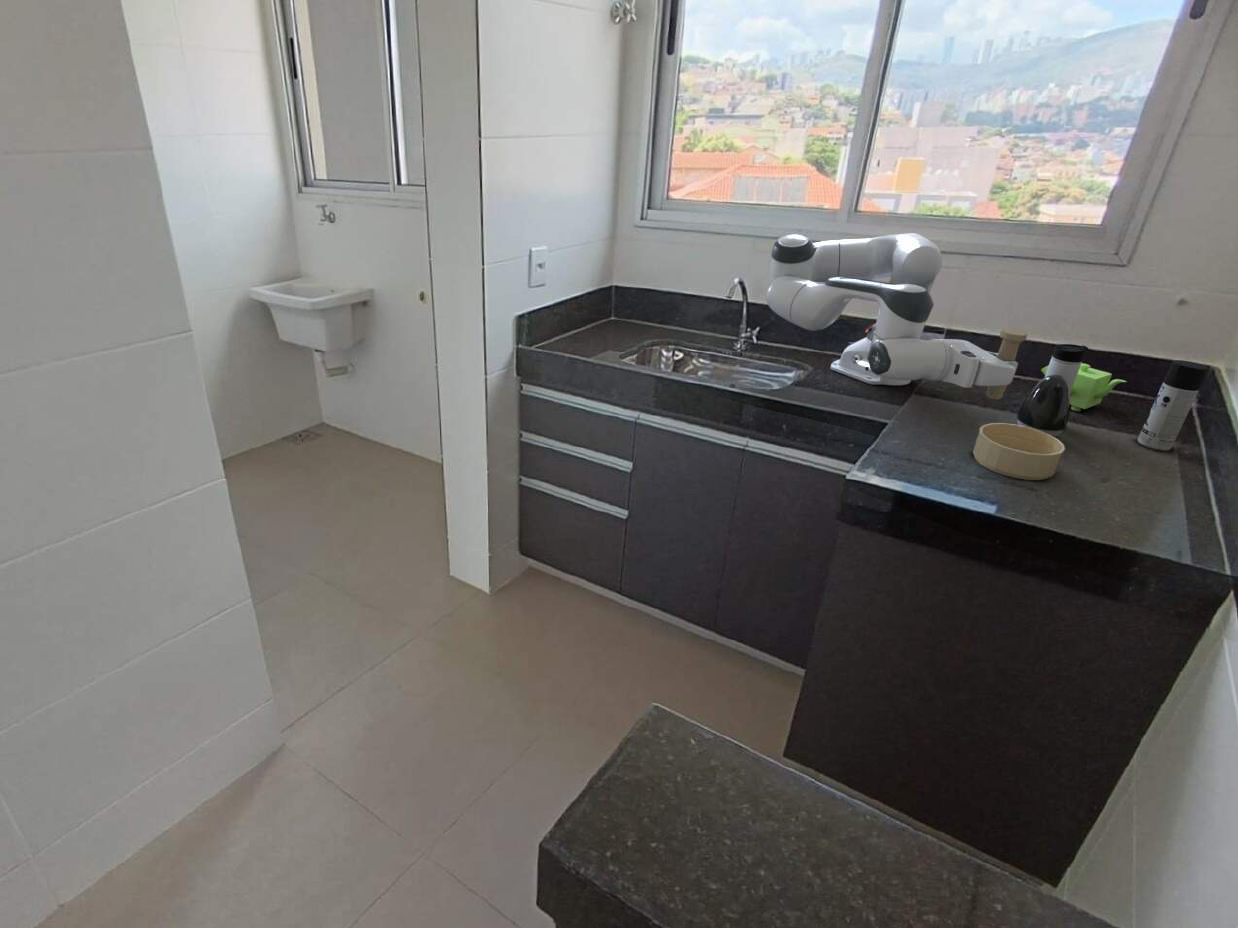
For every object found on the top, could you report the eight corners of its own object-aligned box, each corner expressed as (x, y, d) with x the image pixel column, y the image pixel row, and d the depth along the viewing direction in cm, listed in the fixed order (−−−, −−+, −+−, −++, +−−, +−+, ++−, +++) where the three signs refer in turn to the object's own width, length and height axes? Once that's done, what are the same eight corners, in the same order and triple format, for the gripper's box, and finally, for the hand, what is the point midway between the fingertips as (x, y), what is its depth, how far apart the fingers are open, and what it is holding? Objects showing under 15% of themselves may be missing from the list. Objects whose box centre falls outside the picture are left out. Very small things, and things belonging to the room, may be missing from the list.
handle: (982, 400, 147) (1003, 333, 141) (980, 391, 153) (1000, 326, 146) (1006, 404, 146) (1029, 336, 139) (1004, 395, 151) (1025, 329, 144)
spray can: (1140, 436, 164) (1175, 357, 155) (1173, 446, 160) (1211, 365, 150) (1133, 444, 159) (1169, 363, 150) (1168, 454, 155) (1207, 371, 146)
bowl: (960, 461, 146) (968, 436, 144) (986, 440, 157) (994, 417, 154) (1042, 488, 137) (1052, 462, 134) (1063, 465, 147) (1073, 440, 144)
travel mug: (1063, 429, 166) (1093, 350, 157) (1034, 426, 167) (1062, 347, 158) (1054, 419, 171) (1082, 343, 162) (1026, 416, 172) (1052, 340, 163)
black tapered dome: (1015, 440, 158) (1036, 378, 151) (1009, 424, 167) (1029, 365, 160) (1064, 448, 155) (1088, 386, 148) (1055, 431, 164) (1077, 372, 157)
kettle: (1112, 417, 174) (1129, 376, 169) (1054, 412, 176) (1069, 371, 171) (1085, 397, 188) (1100, 358, 183) (1031, 392, 189) (1044, 353, 184)
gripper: (921, 359, 155) (978, 360, 156) (968, 391, 137) (1032, 392, 138) (928, 332, 152) (986, 333, 153) (977, 361, 134) (1043, 362, 135)
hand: (1008, 361), depth 146 cm, fingers closed on handle, 3 cm apart
